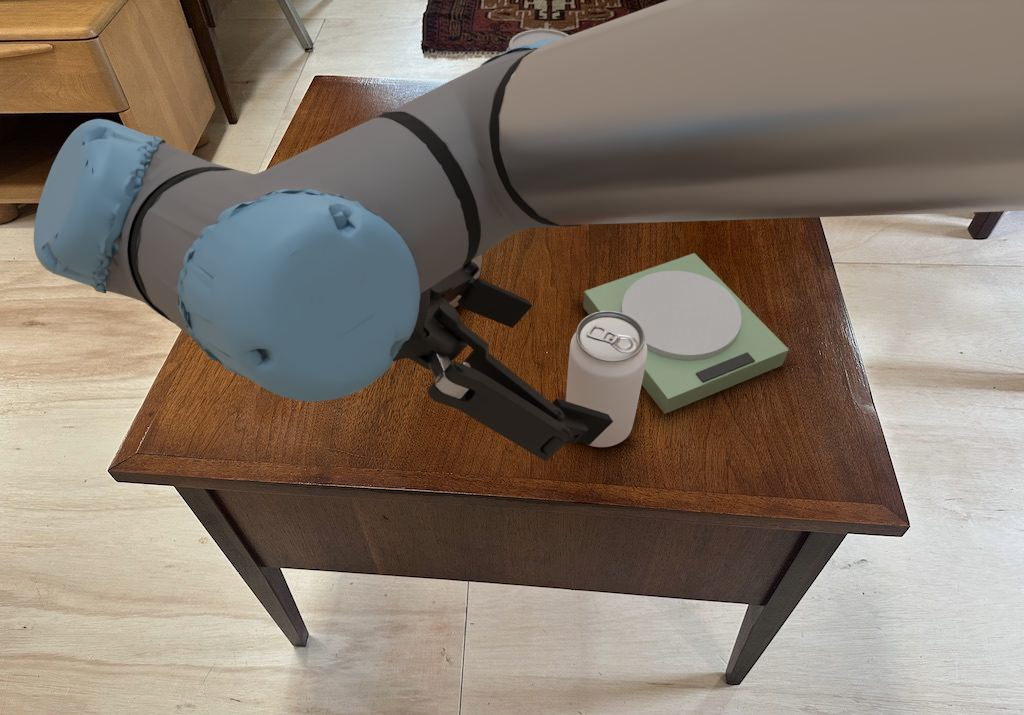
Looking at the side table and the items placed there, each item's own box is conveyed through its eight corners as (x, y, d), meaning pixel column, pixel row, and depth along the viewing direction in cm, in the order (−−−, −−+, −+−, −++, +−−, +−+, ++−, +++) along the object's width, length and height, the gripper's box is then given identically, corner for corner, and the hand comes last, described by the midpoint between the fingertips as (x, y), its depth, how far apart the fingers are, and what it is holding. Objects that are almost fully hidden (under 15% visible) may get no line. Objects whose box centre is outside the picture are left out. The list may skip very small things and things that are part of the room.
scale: (782, 365, 71) (791, 344, 68) (664, 414, 67) (669, 393, 65) (690, 268, 80) (695, 247, 78) (582, 306, 77) (584, 285, 74)
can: (615, 461, 64) (630, 376, 55) (552, 431, 66) (556, 346, 57) (644, 410, 67) (662, 323, 58) (583, 384, 70) (591, 297, 61)
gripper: (265, 221, 51) (469, 304, 66) (373, 497, 36) (603, 521, 52) (321, 137, 48) (519, 244, 64) (462, 397, 34) (676, 454, 49)
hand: (557, 368), depth 58 cm, fingers open, 13 cm apart
